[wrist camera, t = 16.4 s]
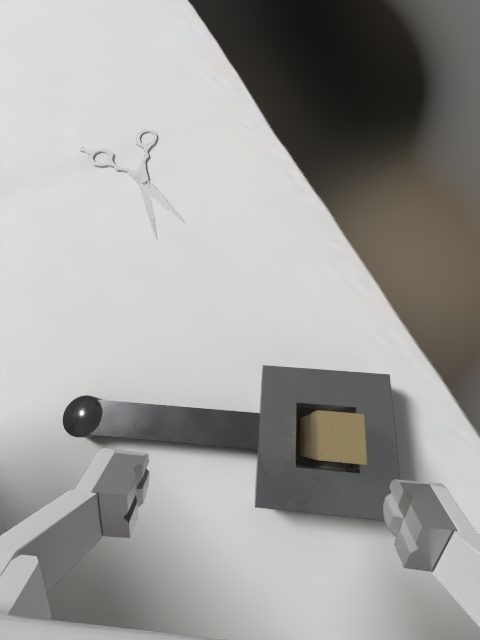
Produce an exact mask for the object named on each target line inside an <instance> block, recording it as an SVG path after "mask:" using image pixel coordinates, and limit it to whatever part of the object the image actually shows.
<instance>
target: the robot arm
mask: <svg viewBox="0 0 480 640" xmlns="http://www.w3.org/2000/svg"><path fill="white" fill-rule="evenodd" d="M148 463H149V458H148V454H147V453H140V452H133V451H125V450H116V449H108V448H102V449H101V450H100V451H99V452H98V453H97V455H96V457H95V458H94V460H93V461H92V463H91V464H90V466H89V468H88V469H87V471H86V472H85V474H84V476H83V477H82V479H81V480H80V482H79V483H78V485H77V487H76V488H75V490H69V491H67V492H66V493H64V494H63V495H61V496H60V497H58V498H57V499H55V500H54V501H52V502H51V503H49V504H48V505H46V506H45V507H43V508H41V509H40V510H38V511H37V512H35V513H34V514H32V515H31V516H29V517H28V518H26V519H25V520H23V521H22V522H20V523H19V524H17V525H16V526H14V527H13V528H11V529H10V530H8V531H7V532H5V533H4V534H2V535H1V536H0V640H226V639H217V638H208V637H199V636H191V635H182V634H173V633H164V632H155V631H146V630H138V629H129V628H120V627H111V626H102V625H93V624H85V623H76V622H67V621H58V620H51V619H52V615H51V610H50V606H49V602H48V598H47V594H46V592H47V591H48V590H50V589H51V588H52V587H53V586H54V585H55V584H56V583H57V582H58V581H59V580H60V579H61V578H62V577H63V576H64V575H65V574H66V573H67V572H68V571H69V570H70V569H71V568H72V567H73V566H74V565H75V564H76V563H77V562H78V561H79V560H80V559H81V558H82V557H83V556H84V555H85V554H86V553H87V552H88V551H89V550H90V549H91V548H92V547H93V546H94V545H95V544H96V543H97V542H98V541H99V540H100V539H101V538H102V536H111V537H124V538H130V536H131V534H132V531H133V529H134V526H135V523H136V521H137V518H138V507H139V506H140V505H141V504H143V502H144V499H145V496H146V493H147V489H148V484H149V471H148V470H147V469H146V468H147V465H148ZM389 488H390V490H391V492H392V493H391V494H389V495H388V496H386V497H385V501H384V504H383V514H384V518H385V522H386V525H387V527H388V530H389V531H390V532H391V533H392V534H393V535H394V536H395V537H396V540H395V544H394V545H395V547H396V550H397V552H398V555H399V557H400V559H401V562H402V564H403V567H404V568H408V569H415V570H423V571H430V572H433V573H432V574H433V575H434V576H435V577H436V578H437V579H438V580H439V582H440V583H441V584H442V585H443V586H444V587H445V588H446V590H447V591H448V592H449V593H450V594H451V595H452V596H453V598H454V599H455V600H456V601H457V602H458V603H459V605H460V606H461V607H462V608H463V609H464V610H465V611H466V613H467V614H468V615H469V616H470V617H471V618H472V619H473V621H474V622H475V623H476V624H477V625H478V626H479V627H480V534H477V533H476V531H475V530H474V528H473V527H472V525H471V524H470V522H469V521H468V519H467V518H466V516H465V515H464V513H463V512H462V510H461V509H460V507H459V506H458V504H457V503H456V501H455V500H454V498H453V497H452V495H451V494H450V492H449V491H448V489H447V488H446V487H445V486H444V485H443V484H440V483H430V482H421V481H410V480H399V479H394V480H393V481H392V482H391V484H390V487H389Z"/></svg>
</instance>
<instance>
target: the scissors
mask: <svg viewBox="0 0 480 640" xmlns="http://www.w3.org/2000/svg"><path fill="white" fill-rule="evenodd" d="M145 133H152V134H153V135H154V140H153V141H152V143H150V144H148V145H145V144H143V143H141V141H140V138H141V135H143V134H145ZM156 141H157V135H156V133H155V132H154V131H153V130H149V129H145V130H142V131H140V132H139V133H138V134H137V137H136V145H137V146H139V147H141V148H143V149H144V152H145V156H144V159H143V161H142V163H141V165H140V166H139V169H138V171H134V170H130V169H126V168H122V167H119V166H117V165H115V163H114V162H113V158H114V154H113V153H112V152H111V151H109V150H105V149H98V150H95V151H89V150H86V149H85V148H84V147H81V148H80V151H81V152H84V153H87V154H89V155H90V156H89V160H90V162H91V163H92V165H93V166H95V167H113V168H115V169H116V171H117V172H119V171H123V172H126V173H128V174H129V175H130V176H131V177H132V178H133V179H134V180H135V181H136V182H137V183H138V184H139V185H140V188H141V192H142V196H143V200H144V203H145V207H146V210H147V213H148V216H149V219H150V222H151V225H152V228H153V231H154V233H155V236H156V229H155V221H154V213H153V207H152V202H151V198H150V197H149V194H150V195H152V196H153V197H154V198H155V199H156V200H158V201H159V202H160V203H161V204H162V205H163V206H165V207H166V208H167V209H168V210H170V211H171V212H172V213H173V214H175V215H176V216H177V217H178V218H179V219H181V220H182V218H181V217H180V216H179V215H178V214H177V212H176V211H175V210H174V209H173V208H172V206H171V205H170V204H169V203H168V201H167V200H166V199H165V198H164V197H163V195H162V194H161V193H160V192H159V191H158V190H157V189H156V188H155V186H154V185H153V184H152V183H151V182H150V181H149V178H148V174H147V170H146V161H147V160H148V159H149V158H150V157H149V155H148V151H149V150H150V149H151V148H152V147H153V146H154V145H155V144H156ZM99 153H106V154H107V155H108V156H109V159H108V161H107V162H104V163H102V164H101V163H97V162H95V161H94V159H93V158H94V156H95V155H96V154H99ZM148 193H149V194H148ZM182 221H183V220H182ZM183 222H184V221H183ZM184 223H185V222H184ZM156 238H157V237H156Z"/></svg>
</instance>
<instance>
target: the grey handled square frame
mask: <svg viewBox="0 0 480 640" xmlns="http://www.w3.org/2000/svg"><path fill="white" fill-rule="evenodd" d="M296 407H299V408H311V409H323V410H336V411H345V413H357V414H364V423H365V439H366V455H367V465H363V464H352V463H347V470H346V469H335V468H324V467H313V466H303V465H296ZM63 425H64V428H65V430H66V431H67V432H68V433H69V434H70V435H72V436H74V437H96V436H98V435H101V436H112V437H123V438H134V439H145V440H156V441H167V442H178V443H189V444H200V445H211V446H222V447H233V448H244V449H255V450H258V452H257V469H256V487H255V507H258V508H267V509H277V510H287V511H297V512H306V513H316V514H326V515H335V516H345V517H355V518H364V519H374V520H384V521H385V518H384V514H383V504H384V501H385V497H386V496H388V495H389V494H391V493H392V492H391V490H390V488H389V487H390V484H391V482H392V481H393V480H394V479H399V480H400V475H399V465H398V455H397V445H396V435H395V425H394V415H393V404H392V394H391V384H390V375H388V374H374V373H361V372H347V371H333V370H319V369H306V368H292V367H278V366H265V365H263V370H262V381H261V399H260V413H250V412H238V411H226V410H214V409H202V408H190V407H178V406H166V405H154V404H142V403H130V402H118V401H106V400H102V399H99V398H96V397H92V396H81V397H78V398H76V399H75V400H73V401H72V402H71V403H70V404H69V405H68V406H67V408H66V410H65V412H64V415H63Z"/></svg>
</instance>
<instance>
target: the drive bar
mask: <svg viewBox="0 0 480 640" xmlns="http://www.w3.org/2000/svg"><path fill="white" fill-rule="evenodd" d="M300 455H301V456H304V457H308V458H312V459H315V460H321V461H331V462H342V463H352V464H363V465H367V455H366V439H365V423H364V414H357V413H345V412H333V411H321V410H317V411H315V412H313V413H310V414H308V415H306V416H304V417H302V418H300Z"/></svg>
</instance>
